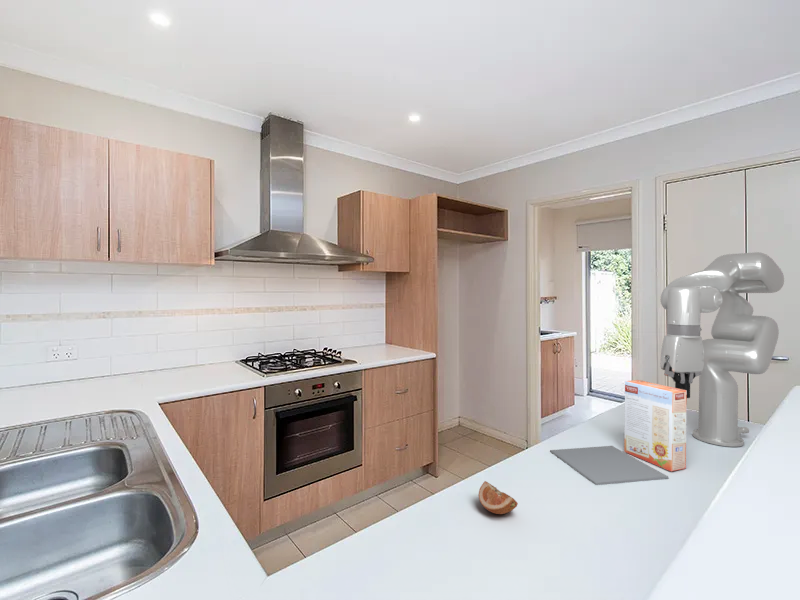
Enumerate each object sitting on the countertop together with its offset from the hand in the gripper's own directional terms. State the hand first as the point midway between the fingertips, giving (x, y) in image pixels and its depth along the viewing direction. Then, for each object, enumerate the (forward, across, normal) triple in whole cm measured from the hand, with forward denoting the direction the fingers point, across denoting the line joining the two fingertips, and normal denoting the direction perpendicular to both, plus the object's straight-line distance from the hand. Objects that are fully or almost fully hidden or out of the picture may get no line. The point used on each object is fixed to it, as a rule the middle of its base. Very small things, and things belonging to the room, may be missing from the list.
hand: (682, 396), depth 109 cm
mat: (+17, +24, 0) cm, 29 cm away
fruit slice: (+18, +62, +17) cm, 67 cm away
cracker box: (+17, +9, 0) cm, 20 cm away
